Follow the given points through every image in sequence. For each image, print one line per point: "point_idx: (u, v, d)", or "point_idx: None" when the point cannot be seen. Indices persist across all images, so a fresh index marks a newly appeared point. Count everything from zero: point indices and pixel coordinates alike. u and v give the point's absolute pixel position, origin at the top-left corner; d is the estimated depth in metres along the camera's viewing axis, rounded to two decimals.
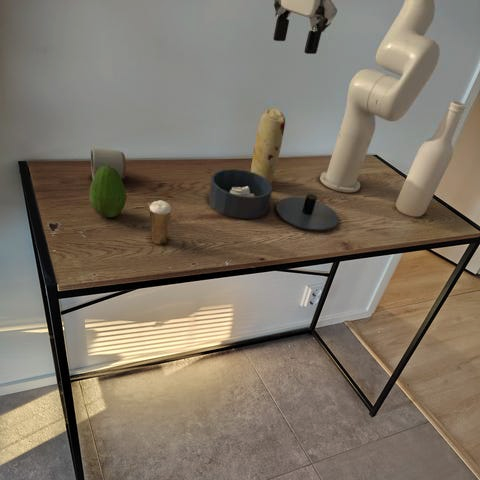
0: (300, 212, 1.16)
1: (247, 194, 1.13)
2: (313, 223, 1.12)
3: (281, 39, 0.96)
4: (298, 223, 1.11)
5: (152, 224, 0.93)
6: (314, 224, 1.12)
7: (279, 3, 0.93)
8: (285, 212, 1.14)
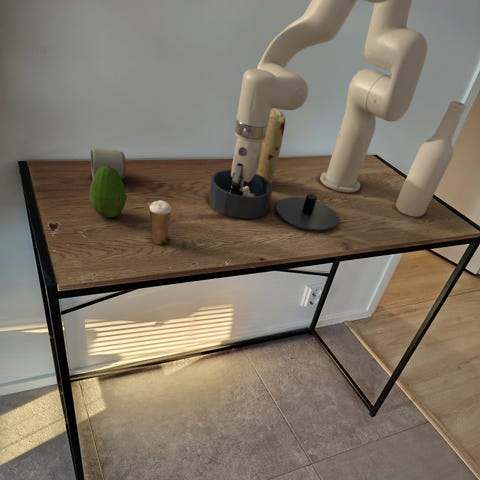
0: (300, 212, 1.16)
1: (247, 194, 1.13)
2: (313, 223, 1.12)
3: None
4: (298, 223, 1.11)
5: (152, 224, 0.93)
6: (314, 224, 1.12)
7: None
8: (285, 212, 1.14)
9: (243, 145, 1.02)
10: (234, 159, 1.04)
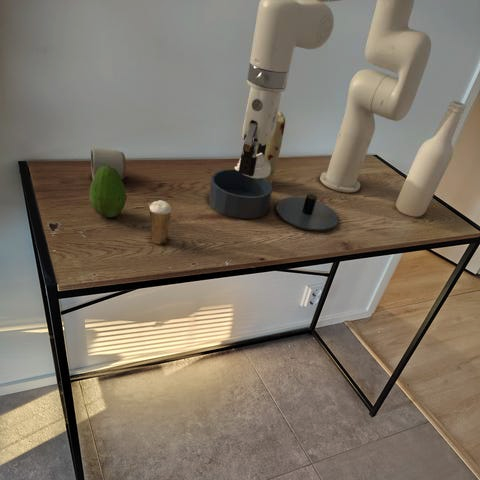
0: (300, 212, 1.16)
1: (261, 162, 0.92)
2: (313, 223, 1.12)
3: None
4: (298, 223, 1.11)
5: (152, 224, 0.93)
6: (314, 224, 1.12)
7: None
8: (285, 212, 1.14)
9: (258, 96, 0.81)
10: (246, 115, 0.83)
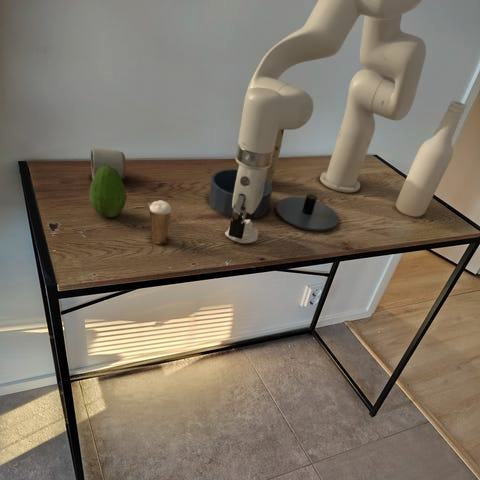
0: (300, 212, 1.16)
1: (249, 229, 1.01)
2: (313, 223, 1.12)
3: (247, 217, 1.05)
4: (298, 223, 1.11)
5: (152, 224, 0.93)
6: (314, 224, 1.12)
7: None
8: (285, 212, 1.14)
9: (245, 174, 0.89)
10: (235, 189, 0.91)
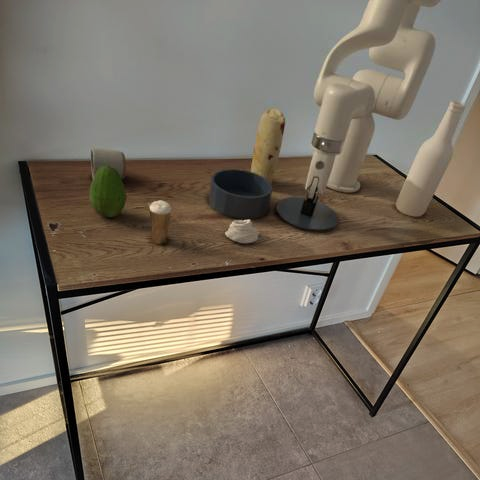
0: (300, 212, 1.16)
1: (249, 229, 1.01)
2: (313, 223, 1.12)
3: None
4: (298, 223, 1.11)
5: (152, 224, 0.93)
6: (314, 224, 1.12)
7: None
8: (285, 212, 1.14)
9: (321, 159, 1.02)
10: (310, 172, 1.05)
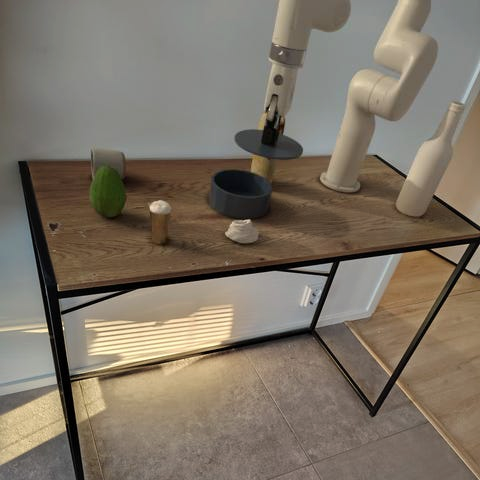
0: None
1: (249, 229, 1.01)
2: (274, 152, 1.01)
3: None
4: (257, 151, 1.00)
5: (152, 224, 0.93)
6: (275, 153, 1.01)
7: None
8: (244, 141, 1.03)
9: (279, 72, 0.91)
10: (268, 89, 0.93)
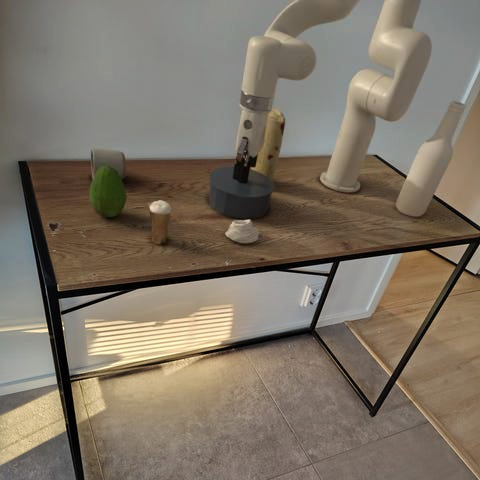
0: (234, 180, 1.11)
1: (249, 229, 1.01)
2: (246, 191, 1.08)
3: None
4: (229, 191, 1.07)
5: (152, 224, 0.93)
6: (247, 192, 1.08)
7: None
8: (218, 180, 1.10)
9: (248, 117, 0.97)
10: (239, 132, 1.00)
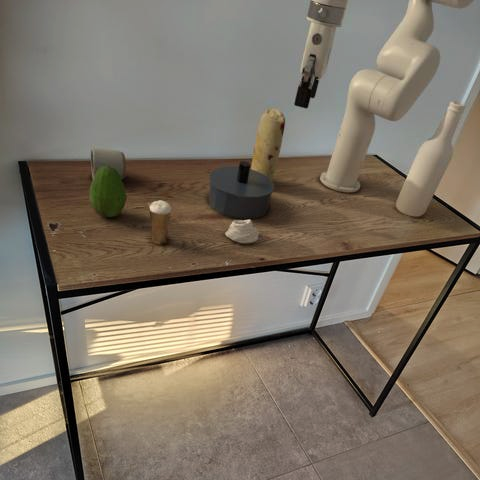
0: (234, 180, 1.11)
1: (249, 229, 1.01)
2: (246, 191, 1.08)
3: None
4: (229, 191, 1.07)
5: (152, 224, 0.93)
6: (247, 192, 1.08)
7: None
8: (218, 180, 1.10)
9: (318, 30, 0.90)
10: (306, 49, 0.92)
